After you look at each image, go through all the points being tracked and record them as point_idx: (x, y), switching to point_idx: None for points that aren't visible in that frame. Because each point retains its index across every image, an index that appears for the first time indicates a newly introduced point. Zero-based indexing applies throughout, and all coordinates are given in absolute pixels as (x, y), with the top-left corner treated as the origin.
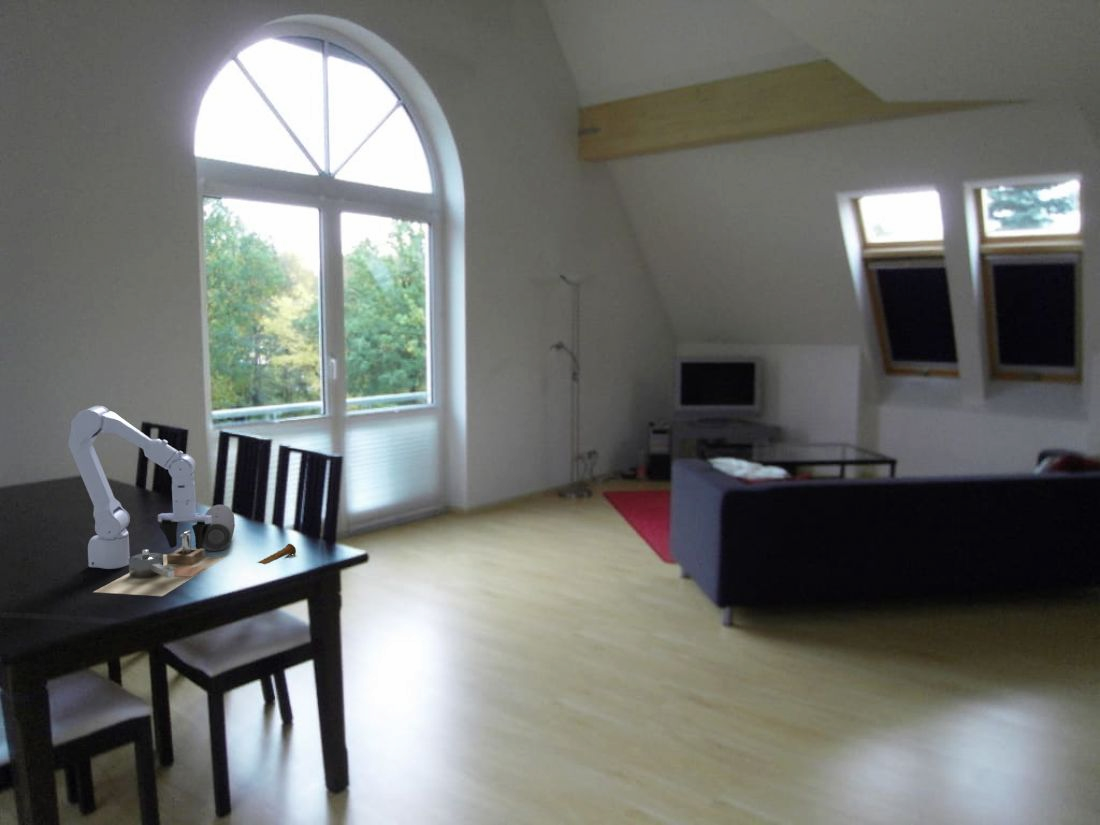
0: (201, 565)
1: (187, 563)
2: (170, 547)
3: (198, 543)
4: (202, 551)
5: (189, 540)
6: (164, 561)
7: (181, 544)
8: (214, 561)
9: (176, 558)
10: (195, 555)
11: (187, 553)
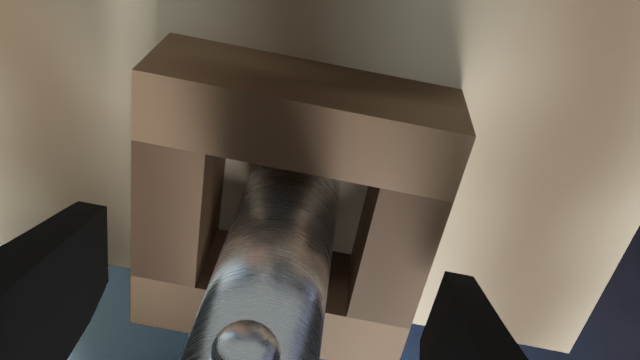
0: (57, 20)
1: (215, 48)
2: (468, 278)
3: (17, 237)
4: (135, 272)
5: (191, 333)
6: (516, 170)
7: (306, 282)
8: (4, 144)
9: (344, 93)
10: (138, 150)
11: (249, 200)
